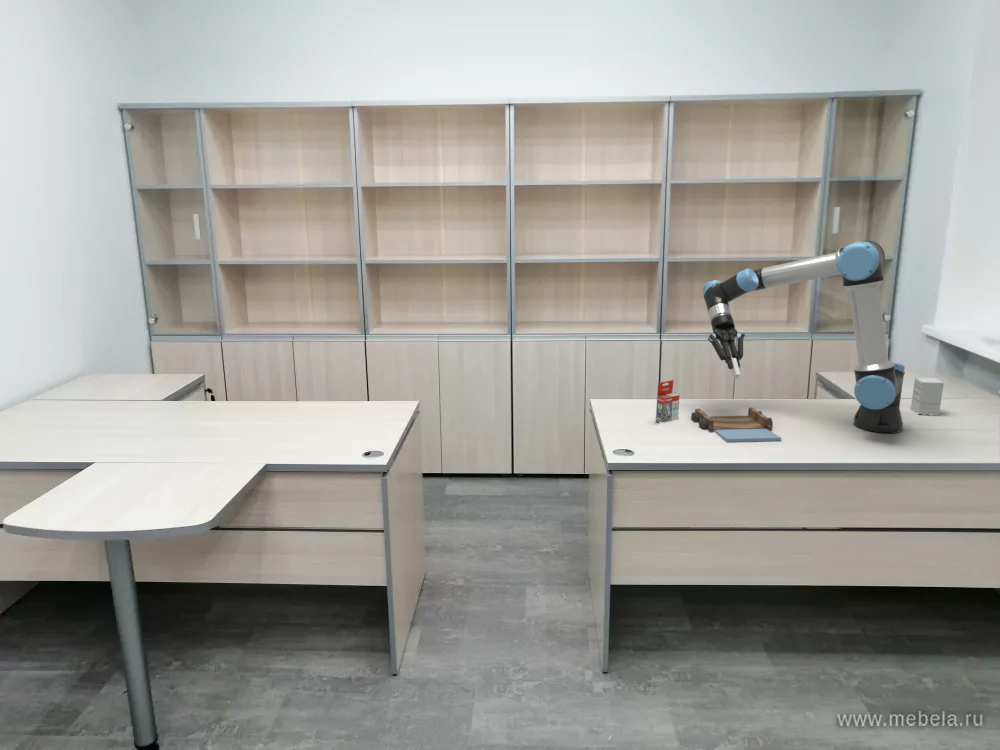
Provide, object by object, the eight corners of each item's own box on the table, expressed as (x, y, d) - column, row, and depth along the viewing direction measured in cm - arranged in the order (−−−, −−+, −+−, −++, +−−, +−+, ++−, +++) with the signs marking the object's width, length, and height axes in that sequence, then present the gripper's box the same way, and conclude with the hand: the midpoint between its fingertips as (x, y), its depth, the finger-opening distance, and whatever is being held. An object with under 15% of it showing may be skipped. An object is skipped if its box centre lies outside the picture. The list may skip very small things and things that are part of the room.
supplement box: (931, 410, 267) (936, 377, 264) (939, 416, 260) (944, 382, 257) (909, 409, 268) (914, 376, 265) (917, 415, 261) (922, 381, 258)
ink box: (678, 421, 254) (681, 381, 250) (662, 425, 249) (665, 384, 246) (670, 418, 257) (673, 379, 253) (655, 422, 252) (657, 382, 249)
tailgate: (713, 429, 240) (727, 438, 228) (765, 427, 241) (781, 437, 230) (713, 432, 240) (726, 442, 229) (765, 431, 242) (781, 441, 230)
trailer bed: (689, 420, 254) (690, 408, 253) (756, 419, 256) (757, 407, 255) (705, 435, 239) (706, 422, 238) (776, 433, 240) (777, 420, 239)
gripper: (735, 325, 257) (751, 381, 245) (700, 326, 256) (714, 382, 244) (742, 313, 251) (759, 370, 239) (706, 313, 250) (722, 371, 238)
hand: (737, 376), depth 241 cm, fingers closed
